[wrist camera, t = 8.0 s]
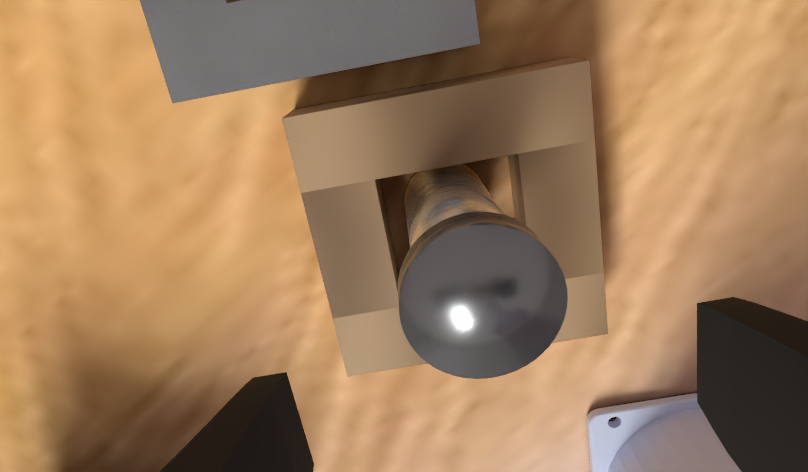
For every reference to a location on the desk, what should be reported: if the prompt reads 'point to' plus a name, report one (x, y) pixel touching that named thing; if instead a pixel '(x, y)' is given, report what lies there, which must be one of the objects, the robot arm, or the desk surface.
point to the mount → (294, 38)
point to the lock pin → (474, 279)
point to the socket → (440, 147)
